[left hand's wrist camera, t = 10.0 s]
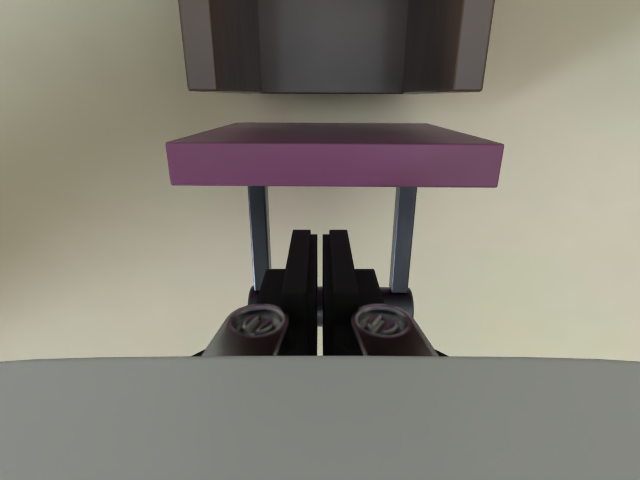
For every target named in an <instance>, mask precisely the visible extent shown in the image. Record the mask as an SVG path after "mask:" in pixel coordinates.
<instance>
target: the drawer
mask: <svg viewBox="0 0 640 480" xmlns="http://www.w3.org/2000/svg"><path fill="white" fill-rule="evenodd" d="M494 2H495V0H178V3H179V12H180V21H181V31H182V40H183V49H184V58H185V67H186V76H187V86H188V90H189V91H200V92H222V93H245V94H432V93H460V92H480V91H482V88H483V81H484V74H485V67H486V59H487V52H488V45H489V38H490V31H491V24H492V16H493V9H494ZM503 149H504V144H501V143H497V142H494V141H490V140H486V139H483V138H479V137H475V136H471V135H468V134H464V133H460V132H456V131H453V130H449V129H445V128H441V127H438V126H434V125H430V124H421V123H234V124H230V125H227V126H223V127H220V128H216V129H212V130H209V131H205V132H202V133H198V134H195V135H191V136H187V137H184V138H180V139H177V140H173V141H170V142H166V151H167V158H168V166H169V173H170V181H171V185H195V186H248V198H249V214H250V229H251V245H252V261H253V276H254V286H252V287H251V289H250V292H249V298H248V305H253V304H256V301H257V298H258V294H259V291H260V288H261V284H262V281H263V278H264V274H265V271H266V269H271V251H270V229H269V207H268V186H340V187H396V199H395V213H394V226H393V240H392V254H391V267H390V281H389V286H390V287H379V288H380V291H381V294H382V298H383V301H384V304H387V305H393V306H396V307H399V308H401V309H403V310H405V311H406V312H408V313H409V314H410V315H411V316H412V317H413V316H414V304H413V296H412V292H411V290H410V288H408V280H409V269H410V258H411V247H412V236H413V226H414V215H415V204H416V193H417V187H484V188H495V187H497V185H498V179H499V173H500V167H501V161H502V155H503ZM317 327H323V287H317Z"/></svg>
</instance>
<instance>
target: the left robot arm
mask: <svg viewBox="0 0 640 480" xmlns="http://www.w3.org/2000/svg"><path fill="white" fill-rule="evenodd" d="M0 480H640V362H637V361H620V360H604V359H574V358H536V357H449V356H447V355H445V354H443V353H441V352H439V351H437V350H435V349H434V348H433V347H432V345H431V344H430V342H429V341H428V339H427V338H426V336H425V335H424V333H423V332H422V330H421V329H420V327H419V326H418V324H417V323H416V321H415V320H414V318H413V317H412V316H411V315H410V314H409V313H408V312H406V311H405V310H403V309H401V308H399V307H396V306H393V305H387V304H384V301H383V298H382V294H381V291H380V288H379V284H378V281H377V278H376V274H375V271H374V269H354V264H353V259H352V254H351V248H350V243H349V238H348V233H347V230H330V232H329V234H323V356H317V234H311V232H310V230H293V233H292V238H291V243H290V248H289V254H288V259H287V264H286V269H266V271H265V274H264V278H263V281H262V284H261V288H260V291H259V294H258V298H257V301H256V304H253V305H247V306H244V307H241V308H239V309H237V310H235V311H234V312H232V313H231V314H230V315H229V316H228V317H227V318H226V320H225V321H224V323H223V324H222V326H221V327H220V329H219V330H218V332H217V333H216V335H215V336H214V338H213V339H212V341H211V342H210V344H209V345H208V347H207V348H206V349H205V350H203V351H201V352H199V353H197V354H195V355H193V356H190V357H99V358H66V359H34V360H20V361H5V362H0Z"/></svg>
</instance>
